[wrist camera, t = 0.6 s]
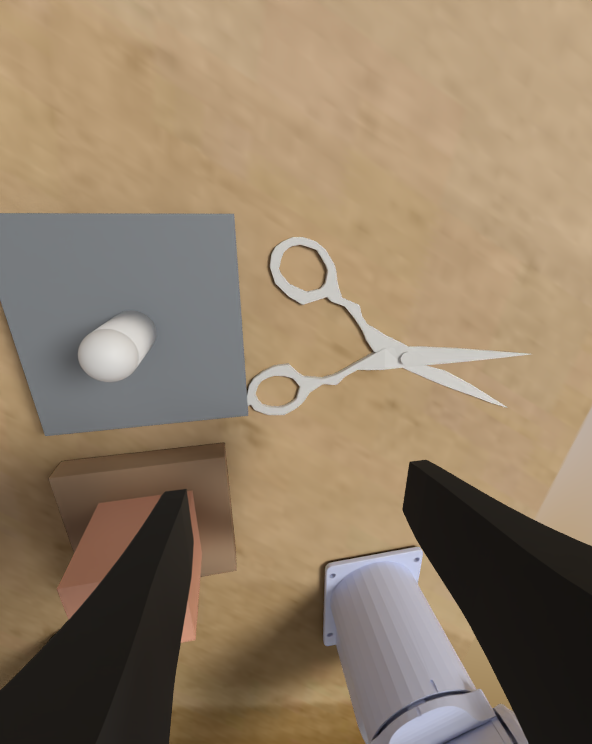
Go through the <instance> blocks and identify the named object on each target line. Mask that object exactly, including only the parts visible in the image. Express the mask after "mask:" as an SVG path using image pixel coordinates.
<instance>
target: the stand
mask: <svg viewBox="0 0 592 744" xmlns="http://www.w3.org/2000/svg"><path fill="white" fill-rule="evenodd" d="M48 479H49V482H50V485H51V488H52V491H53V494H54V497H55V499H56V502H57V505H58V508H59V511H60V514H61V517H62V520H63V523H64V525H65V528H66V531H67V534H68V537H69V540H70V543H71V546H72V549H73V551H74V553H75V551H76V549H77V547H78V544H79V542H80V540H81V538H82V536H83V534H84V532H85V530H86V528H87V526H88V524H89V522H90V520H91V518H92V516H93V514H94V512H95V510H96V508H97V505H98V503H103V502H111V501H118V500H126V499H133V498H140V497H148V496H155V495H162V494H163V493H164V492H165V491H173V490H181V489H187V491H193V498H194V504H195V511H196V517H197V524H198V530H199V537H200V543H201V550H202V562H201V575H200V577H203V576H209V575H215V574H220V573H226V572H231V571H237V569H236V547H235V537H234V528H233V518H232V509H231V499H230V489H229V480H228V470H227V461H226V451H225V443H217V444H208V445H199V446H191V447H182V448H173V449H164V450H155V451H147V452H138V453H129V454H120V455H111V456H103V457H94V458H85V459H76V460H67V461H61V462H60V464H59V465H58V466H57V468H56V469H55V470H54V472H53V473H52V474H51V476H50V477H49V478H48Z"/></svg>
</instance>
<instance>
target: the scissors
mask: <svg viewBox="0 0 592 744" xmlns="http://www.w3.org/2000/svg"><path fill="white" fill-rule="evenodd" d="M296 245H303V246H306V247H309V248H312V249H315V250H316V251H317V252H318V254H319V255H320V257H321V259H322V260H323V262H324V264H325V266H326V269H327V273H326V278H325V283H324V284H323V285H322V286H321V287H320V289H316V290H312V291H304V290H302V289H299V288H297V287H295V286H293V285H291V284H289V283H288V282H287V280H286V279H285V278H284V277H283V276H282V274H281V273H280V270H279V267H280V262H281V258H282V255H283V253H284V251H286V250H287V249H288V248H289V247H291V246H296ZM270 269H271V272H272V275H273V278H274V281H275V283H276V284H277V285H278V286H279V287H280V288H281V289H282V290H283V291H284V292H285V293H286V294H287V295H288V296H289V297H290V298H292V299H294V300H296V301H297V302H299V303H301V304H306V303H310V302H313V301H316V300H319V299H322V298H326V297H327V298H328V299H329V300H330V301H331V302H334V303H337V304H340V305H342V306H344V307H345V308H346V309H347V310H348V311H349V313H350V314H351V315H352V317H353V318H354V319H355V321H356V322H357V324H358V325H359V327H360V328H361V330H362V333H363V335H364V337H365V340H366V341H367V343H368V344H369V346H370V347H371V349H372V350H373V351H374V352H372V353H371V354H369V355H367V356H365V357H363V358H361V359H360V360H358V361H356V362H354V363H352V364H351V365H349V366H347V367H346V368H344V369H342V370H340V371H338V372H336V373H334V374H331V375H328V376H324V377H313V376H303V375H302V374H300V373H299V372H297V371H296V370H295V369H294V368H293V367H292V366H291V365H290V364H289V363H287V364H279V365H274V366H271V367H269V368H267V369H265V370H263V371H262V372H260V373H259V374H258V375H256V376H255V377H254V378H253V379H252V381H251V382H250V384H249V387H248V392H247V403H248V406H249V405H252V407H253V409H254V410H256V411H259V412H261V413H264V414H267V415H285V414H287V413H289V412H291V411H292V410H294V409H296V408H297V407H298V406H300V405H301V404H302V403H303V402H304V400H305V399H306V397H307V396H308V394H309V393H310V392H311V391H313V390H314V389H316V388H318V387H319V386H321V385H322V384H330V385H337V384H338V383H339V382H340V381H341V380H342V379H343V378H344V377H345V376H347V375H349V374H351V373H352V372H354V371H356V370H385V369H393V368H404V369H406V370H409V371H411V372H413V373H416V374H418V375H420V376H423V377H425V378H427V379H430V380H432V381H434V382H436V383H439V384H441V385H444V386H447V387H449V388H452V389H455V390H457V391H460V392H463V393H466V394H469V395H472V396H474V397H477V398H480V399H482V400H485V401H487V402H490V403H493V404H497V405H500V406H503V407H506V406H504V405H503V404H501V403H500V402H498V401H496V400H495V399H493V398H492V397H490V396H488V395H487V394H485V393H484V392H482V391H481V390H479V389H477V388H476V387H474V386H473V385H471V384H469V383H467V382H466V381H464V380H462V379H460V378H458V377H456V376H454V375H452V374H450V373H448V372H446V371H445V370H441V369H436V368H433V367H429V366H425V365H433V364H444V363H455V362H466V361H476V360H485V359H493V358H502V357H511V356H520V355H529V354H526V353H514V352H502V351H489V350H477V349H464V348H447V347H424V346H406V345H405V344H403V343H401V342H399V341H397V340H395V339H393V338H391V337H389V336H387V335H385V334H383V333H381V332H380V331H378V330H377V329H375V328H374V327H372V326H370V325H368V324H367V323H366V321H365V320H364V319H363V317H362V314H361V310H360V305H358V304H356V303H353V302H351V301H349V300H346V299H344V298H342V296H341V293H340V290H339V286H338V282H337V274H336V268H335V265H334V263H333V261H332V260H331V258H330V256H329V255H328V253H327V251H326V250H325V249H324V248H323V247H322V246H321V245H320V244H318V243H317V242H316V241H313V240H310V239H307V238H304V237H292V238H289V239H287V240H285V241H282V242H281V243H280V244H278V245H277V246H276V247H275V248H274V250H273V252H272V254H271V261H270ZM271 376H286V377H290V378H293V379H294V380H295V381H296V382H297V384H298V385H299V389H298V392H297V395H296V398H295V399H294V400H292V401H291V402H289V403H287V404H285V405H282V406H269V405H265V404H262V403H261V402H260V401H259V400H258V398H257V396H256V390H257V387H258V385H259V384H260V382H261V381H262V380H264V379H266V378H268V377H271Z"/></svg>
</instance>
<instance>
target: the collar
mask: <svg viewBox="0 0 592 744" xmlns="http://www.w3.org/2000/svg"><path fill="white" fill-rule="evenodd" d="M187 495H188V502H189V510H190V517H191V524H192V531H193V538H194V547H193V564H192V578H191V584H190V590H189V596H188V602H187V608H186V614H185V620H184V626H183V632H182V638H181V643H182V642H187V641H192V640H195V639H196V626H197V614H198V601H199V588H200V575H201V562H202V550H201V543H200V537H199V530H198V524H197V517H196V511H195V504H194V498H193V491H187ZM160 497H161V495H155V496H148V497H140V498H133V499H126V500H118V501H111V502H103V503H98V505H97V508H96V510H95V512H94V514H93V516H92V518H91V520H90V522H89V524H88V526H87V528H86V530H85V532H84V534H83V536H82V538H81V540H80V542H79V544H78V547H77V549H76V551H75V553H74V555H73V557H72V559H71V561H70V563H69V565H68V567H67V569H66V571H65V573H64V575H63V577H62V579H61V581H60V583H59V585H58V588H57V591H58V594H59V596H60V599H61V601H62V604H63V606H64V609H65V612H66V614H67V617H68V619H70V618H71V616H72V615H73V614H74V613H75V612H76V611H77V610H78V609H79V607H80V606H81V605H82V604H83V603H84V602H85V600H86V599H87V598H88V597H89V596H90V594H91V593H92V592H93V591H94V590H95V588H96V587H97V586H98V585H99V583H100V582H101V581H102V580H103V578H104V577H105V576H106V574H107V573H108V572H109V571H110V569H111V568H112V567H113V565H114V564H115V563H116V562H117V560H118V559H119V558H120V556H121V555H122V554H123V552H124V551H125V549H126V548H127V547H128V545H129V544H130V542H131V541H132V540H133V538H134V537H135V535H136V534H137V533H138V531H139V530H140V528H141V527H142V525H143V524H144V522H145V521H146V519H147V518H148V516H149V515H150V513H151V511H152V510H153V508H154V507H155V505H156V504H157V502H158V500H159V499H160Z"/></svg>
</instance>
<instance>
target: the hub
mask: <svg viewBox="0 0 592 744" xmlns="http://www.w3.org/2000/svg"><path fill="white" fill-rule="evenodd" d="M0 301H1V304H2V307H3V310H4V313H5V316H6V319H7V322H8V325H9V328H10V331H11V334H12V337H13V340H14V343H15V346H16V349H17V352H18V355H19V358H20V361H21V364H22V367H23V370H24V373H25V376H26V379H27V382H28V385H29V388H30V391H31V394H32V397H33V400H34V403H35V407H36V410H37V413H38V416H39V419H40V422H41V425H42V428H43V431H44V434H45V436H51V435H61V434H71V433H81V432H91V431H101V430H110V429H120V428H130V427H140V426H150V425H160V424H170V423H180V422H190V421H199V420H209V419H219V418H229V417H239V416H248V403H247V389H246V375H245V361H244V347H243V333H242V319H241V305H240V291H239V277H238V263H237V249H236V235H235V221H234V214H58V213H0Z"/></svg>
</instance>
